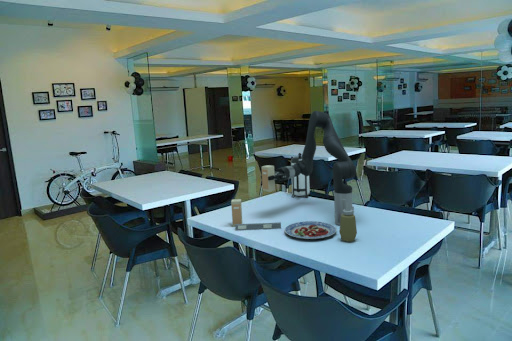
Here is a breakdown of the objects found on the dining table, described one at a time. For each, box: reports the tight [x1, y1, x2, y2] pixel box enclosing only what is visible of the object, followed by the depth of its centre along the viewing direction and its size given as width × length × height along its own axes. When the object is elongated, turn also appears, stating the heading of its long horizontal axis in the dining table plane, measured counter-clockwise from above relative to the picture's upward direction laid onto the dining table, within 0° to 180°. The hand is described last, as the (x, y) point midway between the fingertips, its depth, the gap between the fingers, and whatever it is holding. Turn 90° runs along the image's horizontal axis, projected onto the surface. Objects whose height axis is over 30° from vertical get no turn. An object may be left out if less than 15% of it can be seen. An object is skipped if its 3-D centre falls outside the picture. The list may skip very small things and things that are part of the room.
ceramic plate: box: [284, 220, 337, 240], centre depth 199 cm, size 26×26×3 cm
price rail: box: [234, 221, 282, 231], centre depth 208 cm, size 24×1×3 cm, turn 89°
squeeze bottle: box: [339, 203, 358, 243], centre depth 185 cm, size 8×8×18 cm
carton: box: [261, 164, 276, 193], centre depth 222 cm, size 5×5×14 cm
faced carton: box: [230, 198, 243, 228], centre depth 215 cm, size 5×5×14 cm
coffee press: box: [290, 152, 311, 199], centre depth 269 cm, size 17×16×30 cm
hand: (265, 178), depth 221 cm, fingers closed on carton, 5 cm apart
